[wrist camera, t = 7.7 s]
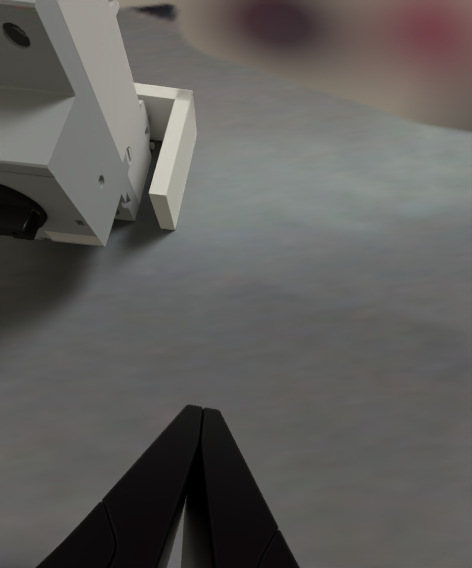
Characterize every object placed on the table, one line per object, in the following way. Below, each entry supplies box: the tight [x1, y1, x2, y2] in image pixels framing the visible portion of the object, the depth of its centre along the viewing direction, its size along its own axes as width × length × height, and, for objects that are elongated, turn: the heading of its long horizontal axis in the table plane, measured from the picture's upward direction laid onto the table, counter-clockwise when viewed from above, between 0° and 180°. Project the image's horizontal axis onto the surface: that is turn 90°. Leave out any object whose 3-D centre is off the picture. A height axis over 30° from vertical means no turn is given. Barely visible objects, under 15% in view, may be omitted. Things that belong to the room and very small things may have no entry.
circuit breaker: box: [0, 0, 155, 247], centre depth 19 cm, size 8×14×15 cm, turn 174°
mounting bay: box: [134, 83, 197, 230], centre depth 26 cm, size 10×14×4 cm
